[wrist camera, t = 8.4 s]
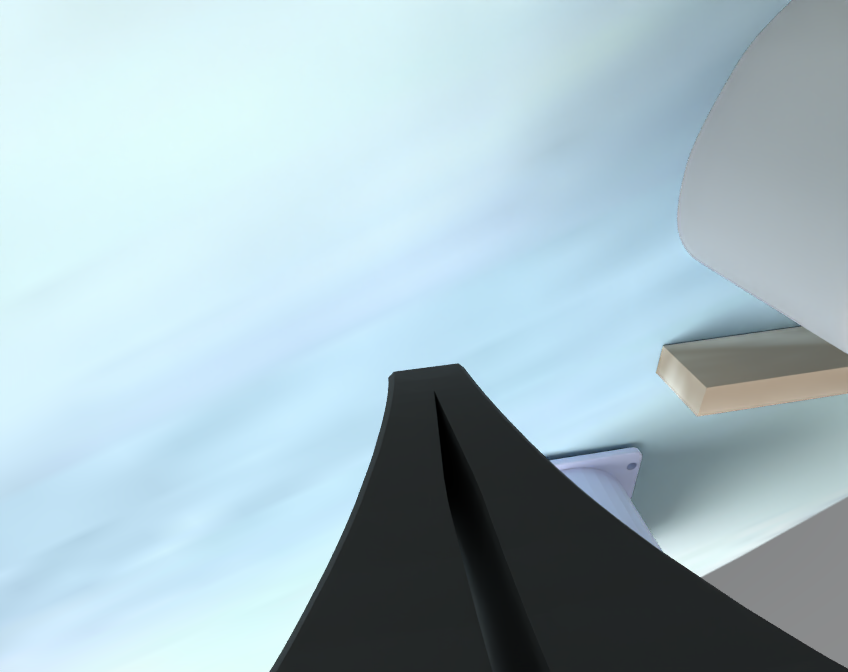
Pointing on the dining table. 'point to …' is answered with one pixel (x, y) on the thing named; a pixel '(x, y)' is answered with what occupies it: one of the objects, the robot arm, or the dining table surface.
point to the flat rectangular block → (753, 370)
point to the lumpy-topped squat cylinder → (779, 171)
